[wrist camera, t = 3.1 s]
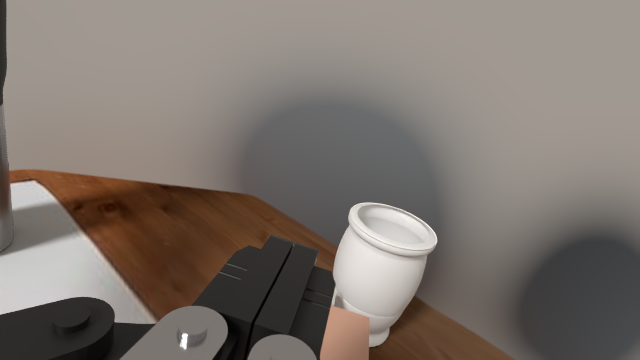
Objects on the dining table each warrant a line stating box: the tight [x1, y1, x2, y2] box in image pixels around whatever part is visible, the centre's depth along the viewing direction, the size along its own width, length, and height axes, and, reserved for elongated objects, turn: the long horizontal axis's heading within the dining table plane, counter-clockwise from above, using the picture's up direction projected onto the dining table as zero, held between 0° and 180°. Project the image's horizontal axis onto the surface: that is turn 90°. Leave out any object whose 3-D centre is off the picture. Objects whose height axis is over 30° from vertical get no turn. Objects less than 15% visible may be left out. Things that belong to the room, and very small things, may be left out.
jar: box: [333, 203, 437, 347], centre depth 42 cm, size 11×10×15 cm
